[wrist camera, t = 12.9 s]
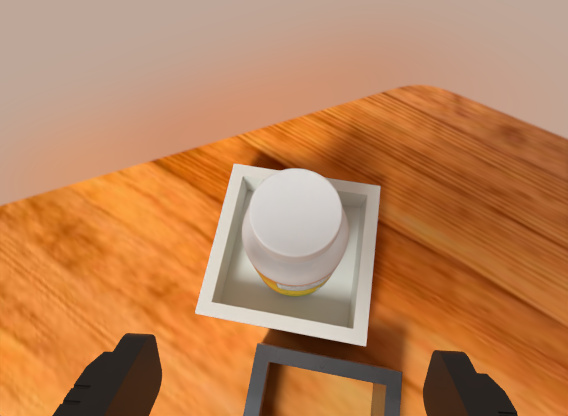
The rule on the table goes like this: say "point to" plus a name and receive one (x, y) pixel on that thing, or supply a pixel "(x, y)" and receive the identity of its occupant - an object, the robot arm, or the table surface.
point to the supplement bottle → (295, 231)
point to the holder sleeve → (383, 378)
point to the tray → (285, 309)
